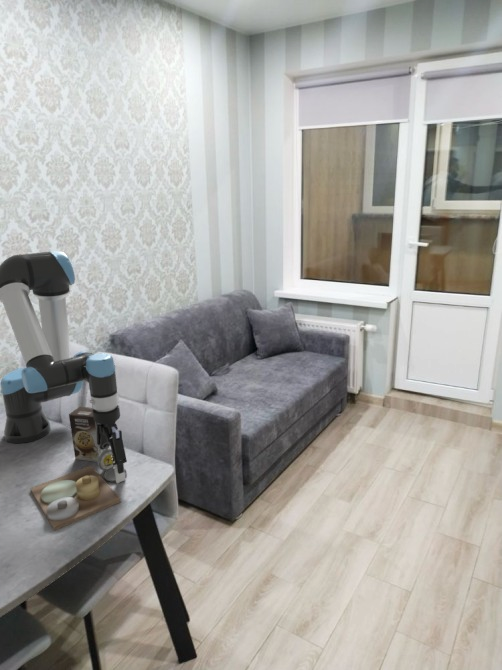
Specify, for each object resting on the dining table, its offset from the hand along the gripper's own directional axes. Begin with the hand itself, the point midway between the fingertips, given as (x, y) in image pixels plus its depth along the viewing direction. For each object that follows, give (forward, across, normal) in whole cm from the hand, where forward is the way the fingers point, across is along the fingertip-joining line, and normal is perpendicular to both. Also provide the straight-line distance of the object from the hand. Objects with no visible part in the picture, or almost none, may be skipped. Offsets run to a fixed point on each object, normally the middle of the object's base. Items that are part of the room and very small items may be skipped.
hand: (114, 474), depth 145 cm
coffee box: (0, -15, -1) cm, 15 cm away
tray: (0, +3, -13) cm, 13 cm away
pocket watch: (0, 0, 0) cm, 0 cm away
